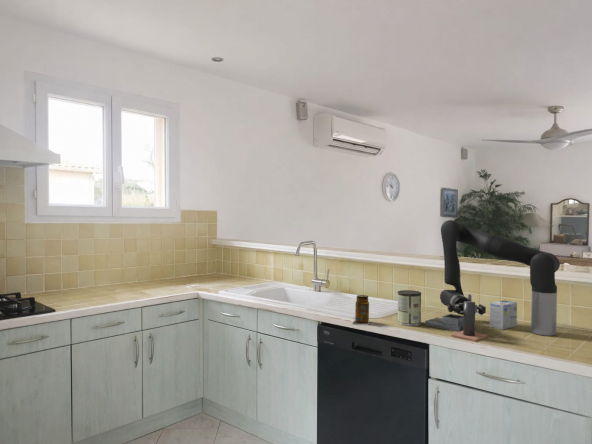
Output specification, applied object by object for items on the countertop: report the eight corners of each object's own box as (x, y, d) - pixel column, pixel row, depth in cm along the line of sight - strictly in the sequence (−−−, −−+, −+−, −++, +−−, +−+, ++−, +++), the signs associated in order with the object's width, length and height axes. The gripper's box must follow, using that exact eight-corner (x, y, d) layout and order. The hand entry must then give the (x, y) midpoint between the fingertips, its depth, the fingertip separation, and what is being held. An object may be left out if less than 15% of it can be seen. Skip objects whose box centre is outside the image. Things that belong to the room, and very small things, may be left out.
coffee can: (404, 319, 212) (404, 289, 212) (424, 323, 205) (425, 291, 205) (392, 323, 204) (393, 291, 204) (413, 327, 198) (414, 294, 197)
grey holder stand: (436, 321, 208) (437, 310, 208) (470, 328, 196) (471, 316, 196) (425, 325, 201) (425, 313, 201) (459, 332, 190) (459, 320, 189)
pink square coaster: (463, 332, 189) (463, 330, 189) (487, 337, 182) (487, 335, 182) (451, 336, 183) (451, 334, 183) (475, 341, 175) (475, 339, 175)
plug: (466, 332, 186) (466, 292, 185) (476, 334, 182) (477, 294, 182) (461, 334, 183) (461, 294, 182) (471, 336, 179) (472, 295, 179)
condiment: (370, 321, 209) (370, 294, 209) (368, 325, 200) (369, 298, 200) (354, 320, 210) (354, 294, 210) (352, 324, 202) (352, 297, 202)
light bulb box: (503, 323, 206) (503, 299, 206) (517, 326, 200) (517, 302, 200) (488, 326, 200) (489, 302, 200) (503, 329, 194) (503, 304, 194)
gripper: (443, 295, 197) (452, 302, 181) (478, 296, 196) (489, 303, 180) (443, 312, 197) (452, 320, 181) (477, 313, 196) (489, 322, 180)
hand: (470, 312), depth 180 cm, fingers open, 8 cm apart
